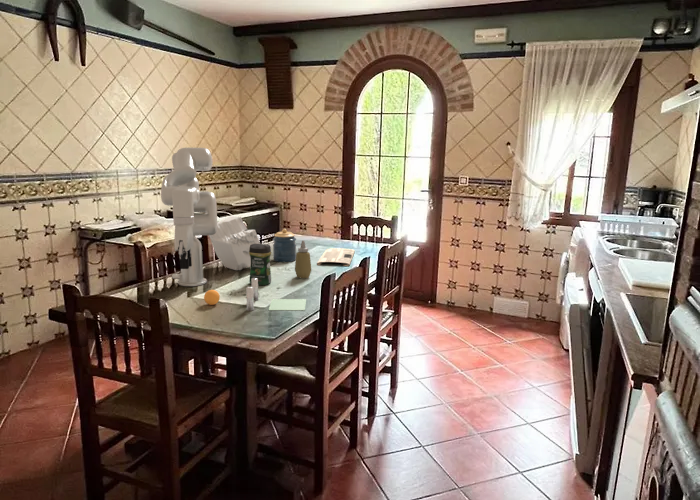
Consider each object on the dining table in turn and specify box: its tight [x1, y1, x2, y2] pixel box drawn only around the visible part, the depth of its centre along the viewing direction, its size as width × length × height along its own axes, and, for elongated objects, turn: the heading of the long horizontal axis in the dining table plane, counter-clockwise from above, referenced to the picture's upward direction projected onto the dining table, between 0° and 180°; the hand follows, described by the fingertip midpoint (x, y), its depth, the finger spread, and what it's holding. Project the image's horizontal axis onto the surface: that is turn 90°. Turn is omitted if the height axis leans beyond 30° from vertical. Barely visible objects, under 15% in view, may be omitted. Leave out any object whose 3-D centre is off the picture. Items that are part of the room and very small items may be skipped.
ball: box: [203, 289, 221, 306], centre depth 199 cm, size 6×6×6 cm
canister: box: [272, 228, 297, 263], centre depth 279 cm, size 13×13×18 cm
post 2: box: [250, 278, 259, 302], centre depth 205 cm, size 3×3×9 cm
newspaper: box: [316, 247, 356, 267], centre depth 287 cm, size 37×19×3 cm, turn 175°
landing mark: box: [268, 298, 307, 311], centre depth 201 cm, size 14×14×1 cm
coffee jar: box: [249, 243, 272, 286], centre depth 229 cm, size 10×8×19 cm
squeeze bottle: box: [294, 240, 312, 279], centre depth 242 cm, size 8×8×18 cm
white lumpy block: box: [208, 215, 261, 271], centre depth 258 cm, size 20×16×25 cm
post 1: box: [245, 286, 255, 312], centre depth 193 cm, size 3×3×9 cm
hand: (186, 267), depth 196 cm, fingers open, 3 cm apart
